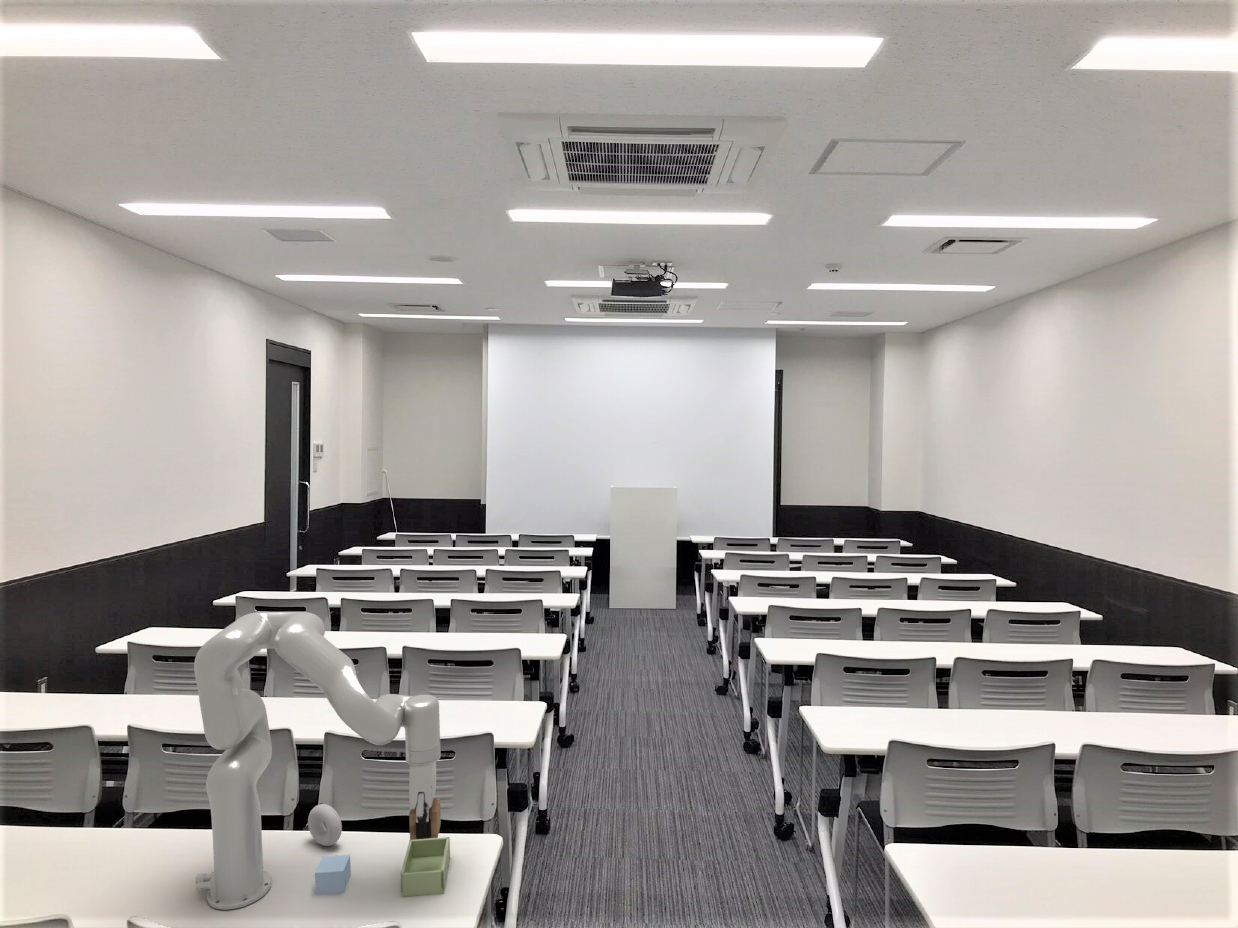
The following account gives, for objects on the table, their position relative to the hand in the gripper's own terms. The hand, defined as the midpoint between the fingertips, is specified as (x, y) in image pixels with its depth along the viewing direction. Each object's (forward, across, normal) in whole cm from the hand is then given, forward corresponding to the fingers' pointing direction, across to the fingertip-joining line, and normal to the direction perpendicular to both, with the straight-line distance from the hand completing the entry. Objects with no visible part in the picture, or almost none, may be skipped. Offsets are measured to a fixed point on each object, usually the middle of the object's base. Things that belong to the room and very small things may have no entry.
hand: (425, 828), depth 168 cm
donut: (+11, -16, -26) cm, 33 cm away
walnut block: (+1, 0, 0) cm, 1 cm away
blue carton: (+11, 0, -20) cm, 23 cm away
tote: (+11, 0, 0) cm, 11 cm away
